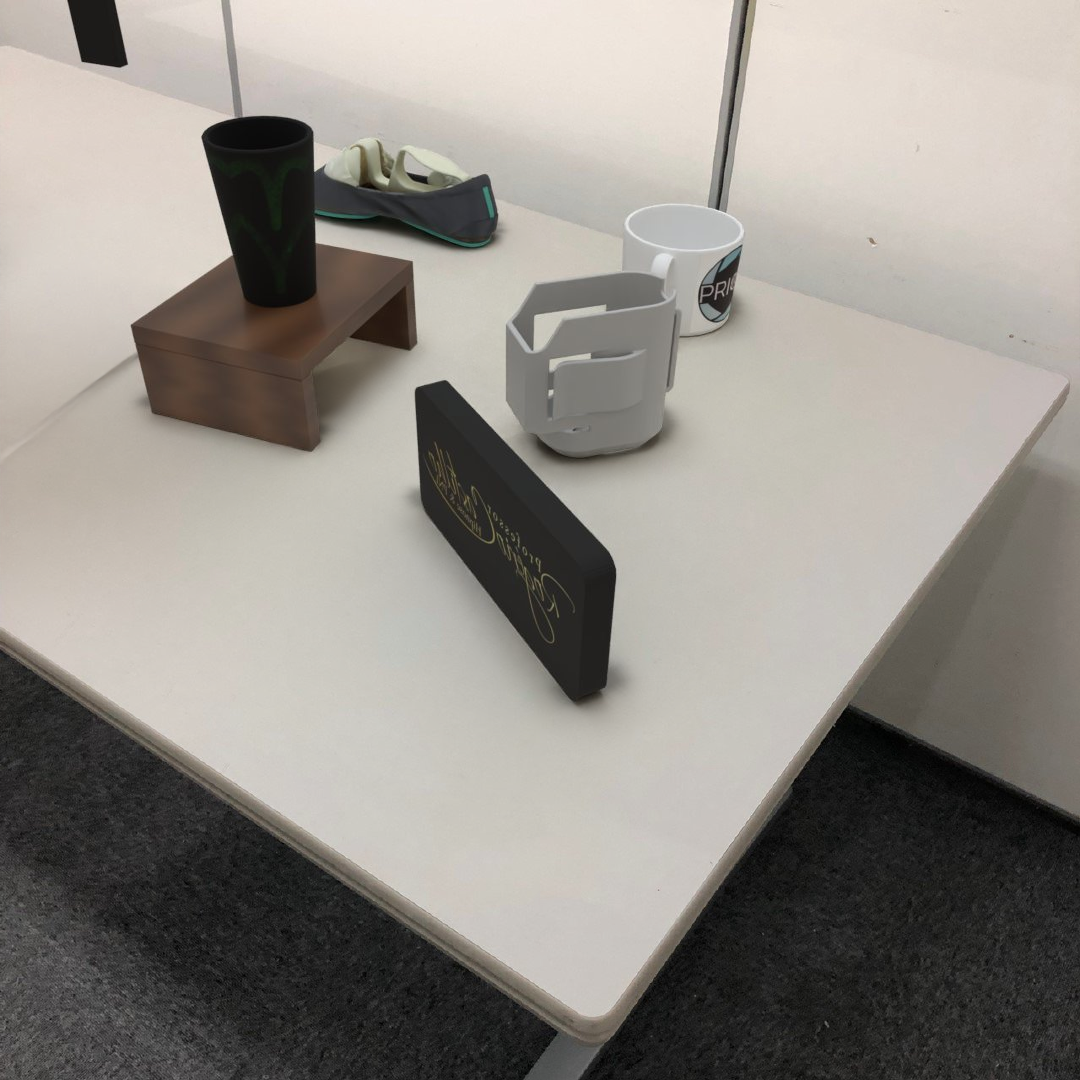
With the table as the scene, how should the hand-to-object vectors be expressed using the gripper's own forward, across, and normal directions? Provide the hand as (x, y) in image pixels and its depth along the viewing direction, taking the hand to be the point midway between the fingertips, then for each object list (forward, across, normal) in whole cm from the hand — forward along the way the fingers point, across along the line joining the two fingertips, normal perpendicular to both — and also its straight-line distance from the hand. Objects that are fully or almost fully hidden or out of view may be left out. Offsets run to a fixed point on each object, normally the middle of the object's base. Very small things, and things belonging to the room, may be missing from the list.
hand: (22, 96), depth 57 cm
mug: (+27, +40, -28) cm, 56 cm away
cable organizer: (+27, +18, -27) cm, 42 cm away
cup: (+19, +18, -2) cm, 26 cm away
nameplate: (+27, 0, -28) cm, 39 cm away
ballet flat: (+27, +50, +5) cm, 57 cm away
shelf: (+26, +18, -2) cm, 32 cm away
